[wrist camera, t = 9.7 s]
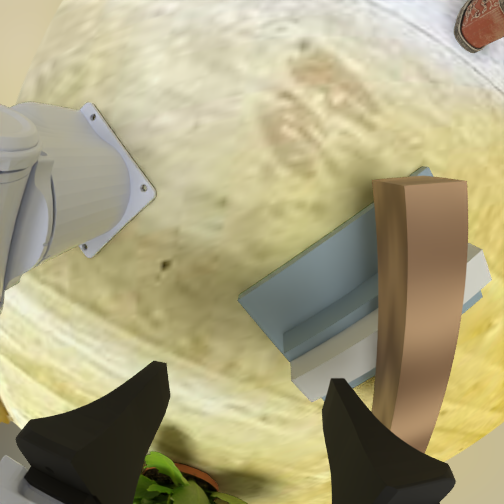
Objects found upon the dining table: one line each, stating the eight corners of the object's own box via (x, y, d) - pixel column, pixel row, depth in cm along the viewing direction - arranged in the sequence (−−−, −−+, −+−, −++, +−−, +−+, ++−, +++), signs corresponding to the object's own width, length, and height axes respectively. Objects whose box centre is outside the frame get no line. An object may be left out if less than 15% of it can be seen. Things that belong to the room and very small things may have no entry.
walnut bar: (405, 427, 18) (419, 464, 14) (368, 436, 18) (378, 476, 14) (423, 175, 13) (466, 181, 9) (371, 180, 14) (404, 186, 10)
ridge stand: (324, 395, 24) (332, 441, 19) (239, 294, 22) (228, 334, 16) (476, 292, 20) (512, 320, 15) (421, 166, 18) (464, 169, 13)
